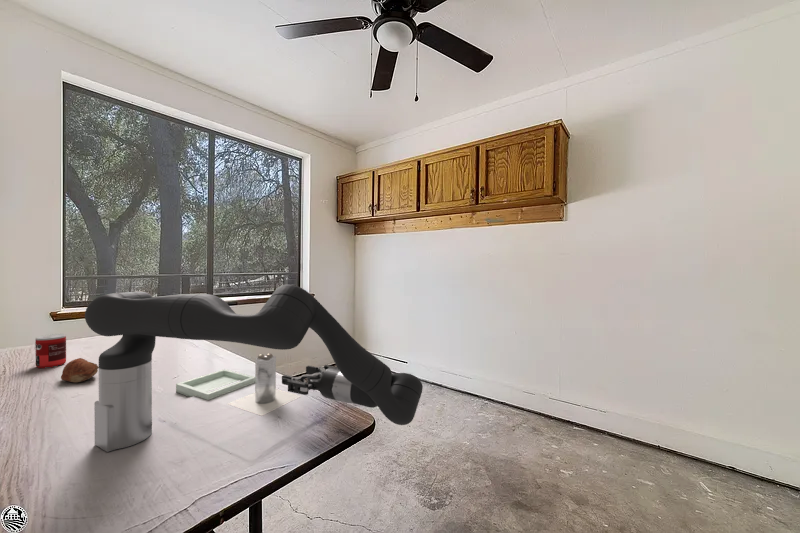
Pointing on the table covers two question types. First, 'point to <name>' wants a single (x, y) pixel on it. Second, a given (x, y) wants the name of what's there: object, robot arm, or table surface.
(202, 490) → the table surface
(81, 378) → the bread roll
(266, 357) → the cup
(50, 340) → the canned food
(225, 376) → the tray
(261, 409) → the board
